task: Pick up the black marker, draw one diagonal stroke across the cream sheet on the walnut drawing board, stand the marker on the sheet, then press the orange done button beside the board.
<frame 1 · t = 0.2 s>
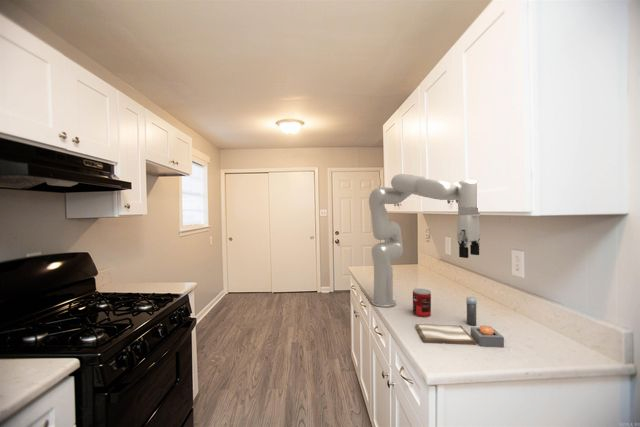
hand: (469, 256, 111), 30 cm above the worktop, tool pointing down, fingers open, 9 cm apart
done button: (486, 332, 105), point 4 cm above the worktop, slide at 0.0 cm
drawing board: (443, 335, 110), on the worktop
marker: (471, 324, 120), on the worktop
button housing: (486, 341, 105), on the worktop
canned food: (421, 314, 132), on the worktop
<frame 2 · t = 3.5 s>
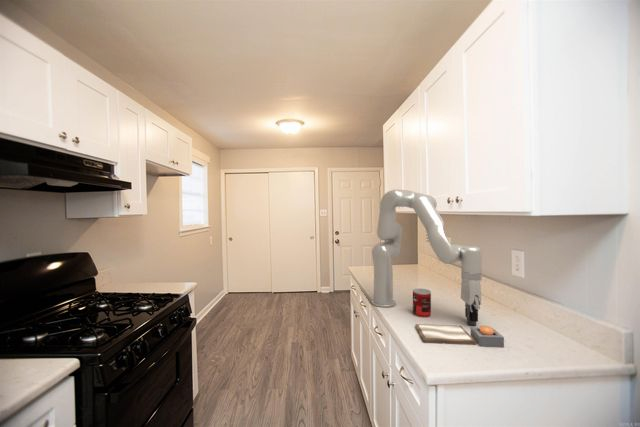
hand: (471, 318, 120), 2 cm above the worktop, tool pointing down, fingers closed on marker, 3 cm apart
marker: (471, 324, 120), on the worktop, touching gripper
everything else where it was.
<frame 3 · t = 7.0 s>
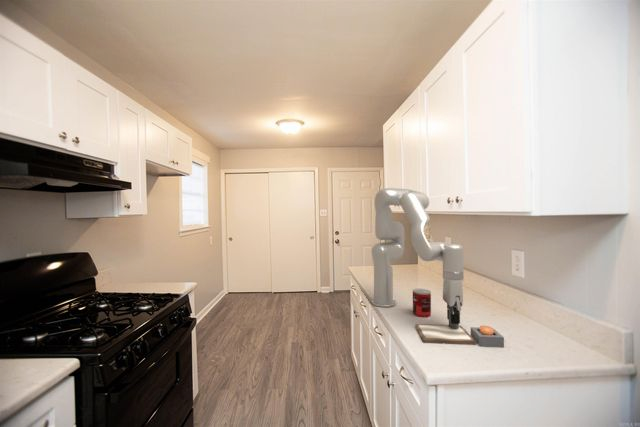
hand: (453, 320, 114), 4 cm above the worktop, tool pointing down, fingers closed on marker, 3 cm apart
marker: (453, 326, 114), point 2 cm above the worktop, touching gripper
everything else where it was.
when the fingers open (5 cm above the worktop, at t = 10.8 s): marker drops 1 cm, resting on drawing board.
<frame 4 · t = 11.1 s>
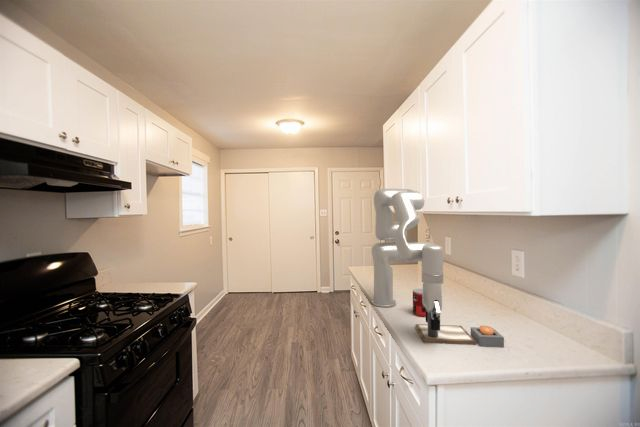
hand: (432, 325, 107), 5 cm above the worktop, tool pointing down, fingers open, 6 cm apart
marker: (432, 335, 107), point 1 cm above the worktop, touching drawing board
everything else where it was.
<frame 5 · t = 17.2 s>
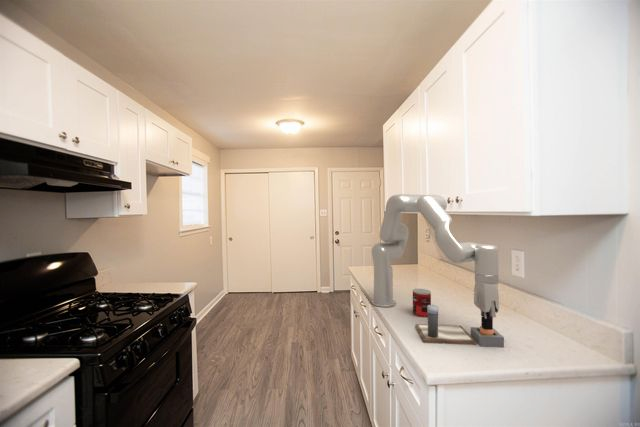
hand: (487, 328, 104), 5 cm above the worktop, tool pointing down, fingers closed
done button: (486, 332, 105), point 3 cm above the worktop, slide at 0.2 cm, touching gripper
everything else where it was.
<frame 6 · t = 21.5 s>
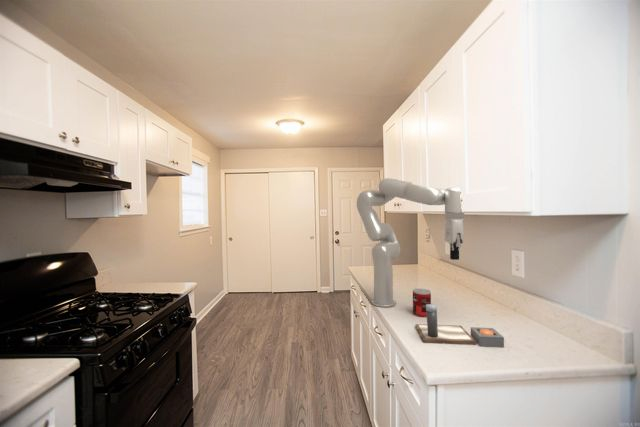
hand: (454, 259, 123), 27 cm above the worktop, tool pointing down, fingers closed
done button: (486, 335, 105), point 2 cm above the worktop, slide at 1.2 cm
at the end: marker inside the target area on the drawing board (6.3 cm from its centre), point 1.6 cm above the drawing board's base; marker tilted 6°; done button slide at 1.2 cm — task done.
